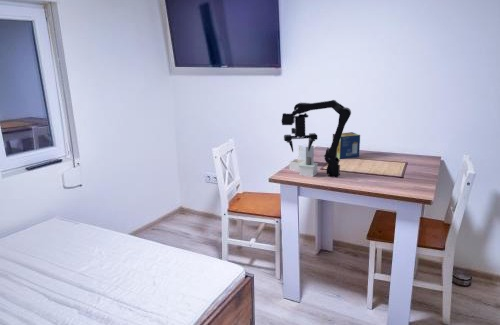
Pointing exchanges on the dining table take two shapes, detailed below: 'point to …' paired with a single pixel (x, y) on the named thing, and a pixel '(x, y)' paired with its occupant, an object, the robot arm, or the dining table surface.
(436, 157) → the dining table surface
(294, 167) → the pot
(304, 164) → the lid
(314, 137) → the robot arm
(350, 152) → the protein box
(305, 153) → the small box
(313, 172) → the pot
